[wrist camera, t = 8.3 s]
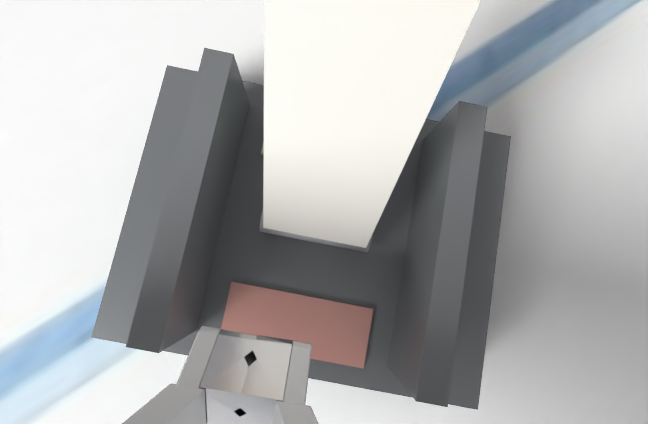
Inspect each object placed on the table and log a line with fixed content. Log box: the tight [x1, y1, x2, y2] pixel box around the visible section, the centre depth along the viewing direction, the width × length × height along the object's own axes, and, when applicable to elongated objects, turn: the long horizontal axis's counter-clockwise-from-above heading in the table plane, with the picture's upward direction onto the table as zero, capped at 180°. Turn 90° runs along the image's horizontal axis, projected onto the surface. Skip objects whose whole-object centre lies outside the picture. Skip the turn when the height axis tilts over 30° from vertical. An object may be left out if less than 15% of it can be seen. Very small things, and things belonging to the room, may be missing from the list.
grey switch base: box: [92, 48, 511, 410], centre depth 16 cm, size 12×16×8 cm
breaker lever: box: [259, 0, 481, 253], centre depth 10 cm, size 2×5×13 cm, turn 80°
